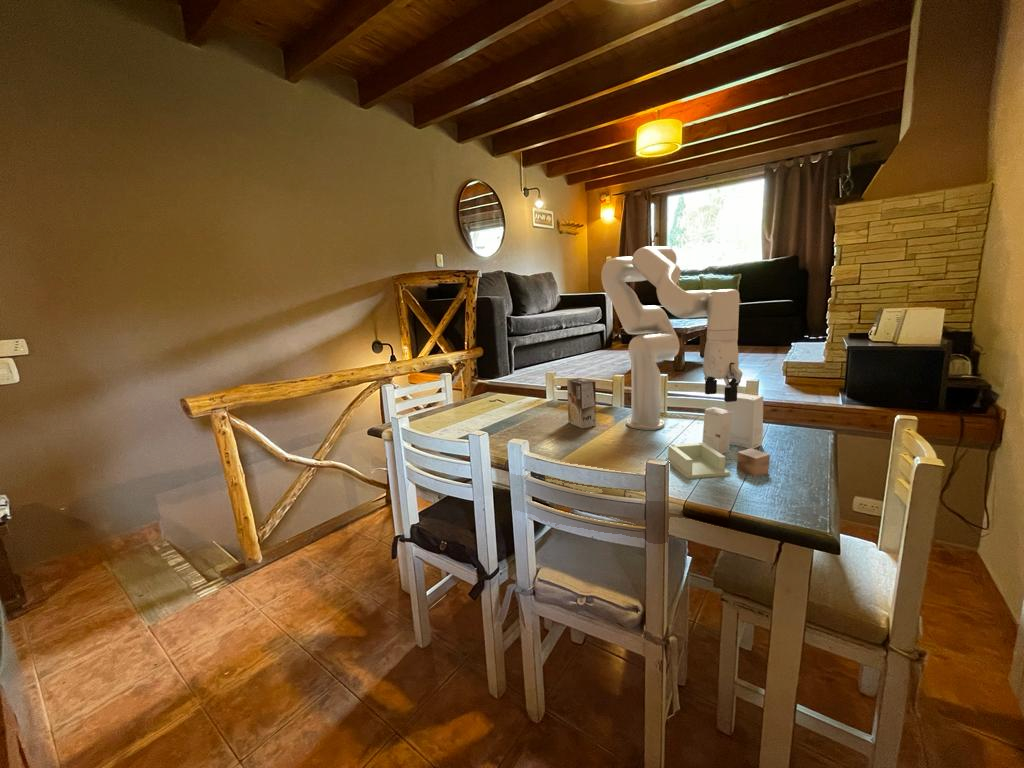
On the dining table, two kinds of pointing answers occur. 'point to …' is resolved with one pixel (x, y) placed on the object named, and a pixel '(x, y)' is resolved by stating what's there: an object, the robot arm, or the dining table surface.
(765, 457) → the walnut block
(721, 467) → the u rest
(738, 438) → the skincare box
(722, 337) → the robot arm
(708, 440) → the skincare box
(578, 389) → the coffee box
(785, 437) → the dining table surface
